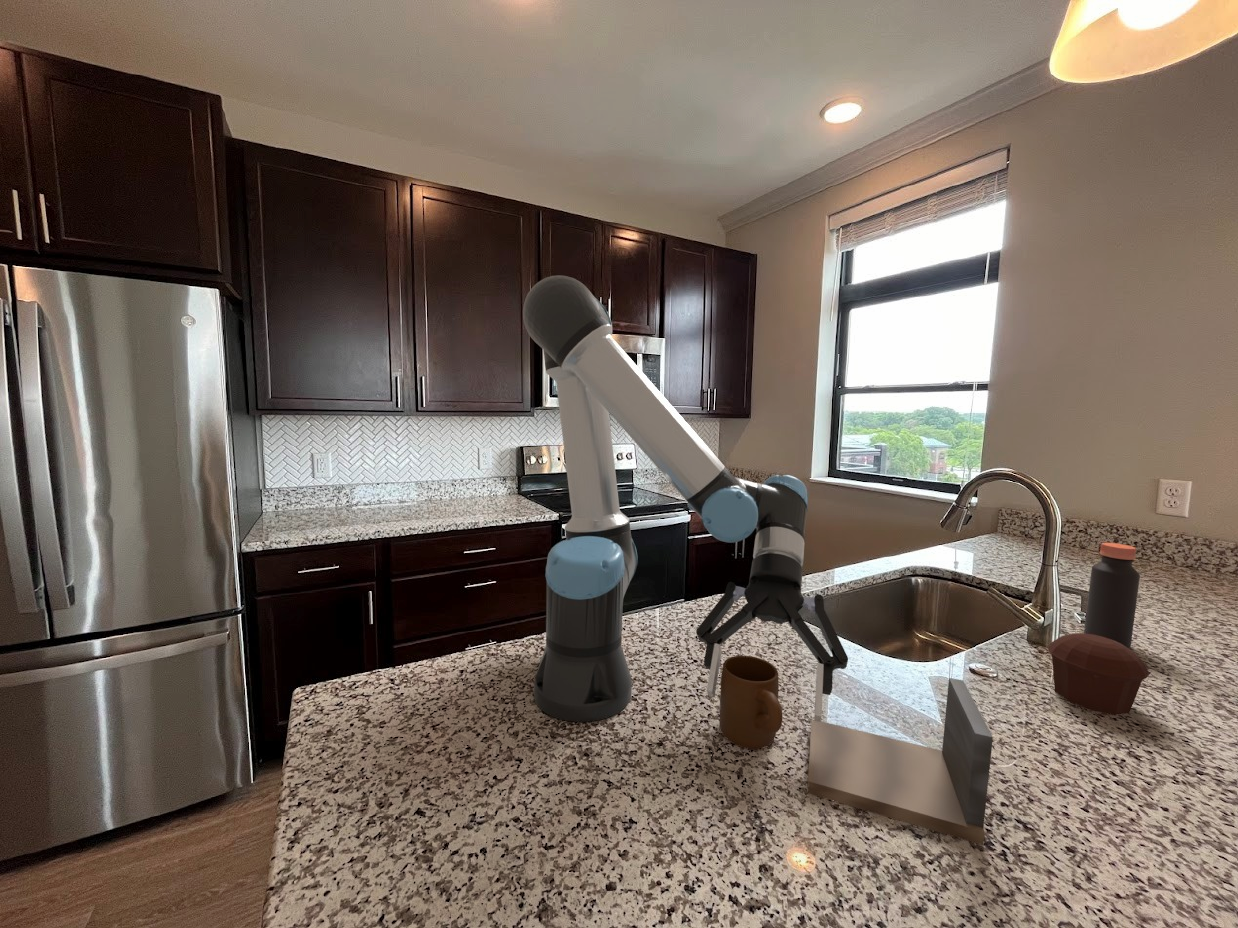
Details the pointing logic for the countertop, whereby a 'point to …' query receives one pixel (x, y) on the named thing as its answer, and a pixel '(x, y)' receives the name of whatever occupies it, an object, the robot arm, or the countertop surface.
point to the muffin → (1096, 672)
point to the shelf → (910, 771)
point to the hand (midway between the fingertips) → (762, 706)
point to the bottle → (1113, 594)
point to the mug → (749, 702)
